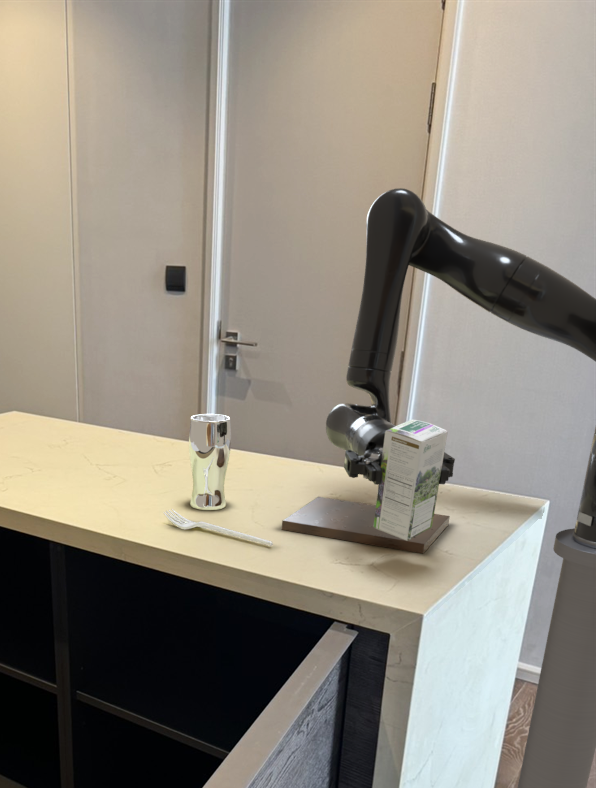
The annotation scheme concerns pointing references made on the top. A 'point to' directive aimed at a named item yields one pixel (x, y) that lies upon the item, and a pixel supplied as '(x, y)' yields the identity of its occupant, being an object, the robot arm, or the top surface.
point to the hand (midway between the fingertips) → (411, 477)
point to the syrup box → (409, 478)
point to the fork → (211, 528)
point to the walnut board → (356, 524)
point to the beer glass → (209, 459)
